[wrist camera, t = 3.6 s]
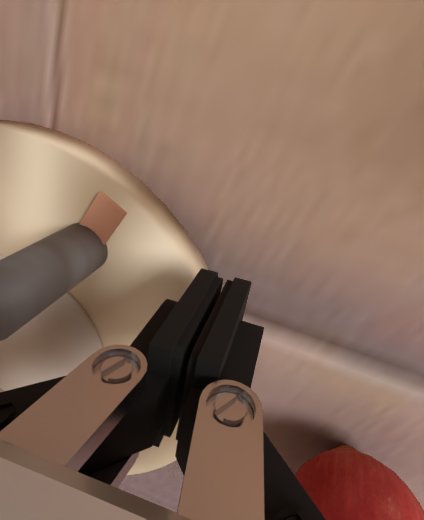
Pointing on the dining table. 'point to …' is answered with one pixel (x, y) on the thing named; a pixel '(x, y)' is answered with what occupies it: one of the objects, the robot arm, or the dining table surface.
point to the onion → (356, 487)
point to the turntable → (80, 259)
